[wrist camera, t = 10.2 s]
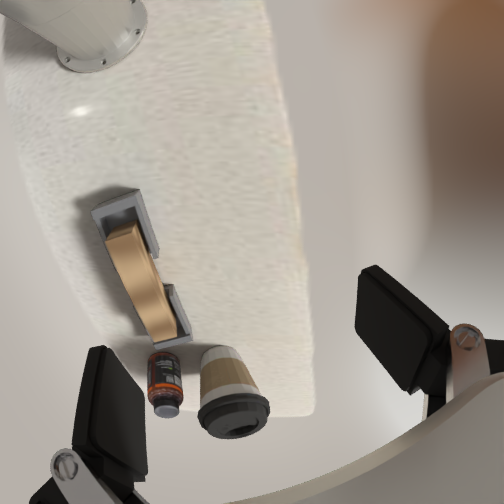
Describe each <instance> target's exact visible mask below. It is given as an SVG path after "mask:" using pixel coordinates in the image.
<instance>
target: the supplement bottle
mask: <svg viewBox="0 0 504 504" xmlns="http://www.w3.org/2000/svg"><path fill="white" fill-rule="evenodd" d="M147 371H148V373H147V388H148V389H147V391H148V400H149V402H150V403H151V404H152V405H153V406H154V413H155V414H156V415H157V416H159V417H162V418H173V417H175V416H177V415H178V414H179V406H180V405H181V404H182V402H183V389H182V381H181V371H180V363H179V360H178V359H177V357H175V356H174V355H172V354H170V353H164V352H161V353H156V354H154V355H152V356H151V357H150V358H149V360H148V370H147Z"/></svg>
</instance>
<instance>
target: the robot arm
mask: <svg viewBox="0 0 504 504" xmlns="http://www.w3.org/2000/svg"><path fill="white" fill-rule="evenodd" d="M132 3H133V4H132ZM0 13H1V14H3V15H5V16H7V17H9V18H11V19H13V20H15V21H16V22H18V23H20V24H21V25H23V26H25V27H26V28H28V29H30V30H32V31H33V32H35V33H37V34H38V35H40V36H42V37H43V38H45V39H46V40H48V41H50V42H51V43H53V44H54V45H56V50H57V55H58V57H59V59H60V61H61V62H62V63H63V64H64V66H66V67H68V68H69V69H71V70H74V71H76V72H82V73H91V72H96V71H100V70H103V69H106V68H109V67H111V66H113V65H114V64H116V63H118V62H119V61H121V60H122V59H124V58H125V57H126V56H127V55H128V54H130V53H131V52H132V51H133V49H134V48H135V47H136V46H137V45H138V43H139V42H140V40H141V39H142V37H143V35H144V33H145V30H146V26H147V12H146V9H145V6H144V4H143V3H142V2H141V1H140V0H0ZM137 33H139V34H138V35H136V34H137ZM69 60H70V61H69ZM68 61H69V62H68ZM104 62H106V64H104V65H103V63H104ZM448 328H449V325H447V324H446V323H445V322H444V321H443V320H442V319H441V318H440V317H439V316H438V315H436V314H435V313H434V312H433V311H432V310H431V309H429V307H427V306H426V305H425V304H424V303H423V302H422V301H420V300H419V299H418V298H417V297H416V296H415V295H413V294H412V293H411V292H410V291H409V290H407V289H406V288H405V287H404V286H403V285H401V284H400V283H399V282H398V281H396V280H395V279H394V278H393V277H392V276H390V275H389V274H388V273H386V272H385V271H384V270H383V269H382V268H380V267H379V266H377V265H373V266H370V267H367V268H365V269H363V270H362V271H361V274H360V275H359V276H358V290H357V304H356V316H355V330H356V333H357V334H358V336H360V338H361V339H362V340H363V342H364V343H365V344H366V345H367V347H368V348H369V349H370V350H371V352H372V353H373V354H374V355H375V357H376V358H377V359H378V360H379V362H380V363H381V364H382V365H383V367H384V368H385V369H386V370H387V371H388V373H389V374H390V376H391V377H392V378H393V379H394V381H395V382H396V383H397V384H398V386H399V387H400V388H401V389H402V390H403V391H407V392H408V393H409V395H411V394H413V393H415V392H416V391H418V390H419V389H422V391H423V392H424V405H423V416H422V422H421V423H420V424H418V425H416V426H415V427H413V428H412V429H410V430H409V431H407V432H406V433H404V434H403V435H401V436H399V437H398V438H396V439H394V440H393V441H391V442H389V443H388V444H386V445H384V446H383V447H381V448H379V449H377V450H375V451H374V452H372V453H370V454H368V455H366V456H364V457H362V458H360V459H358V460H356V461H354V462H352V463H350V464H348V465H346V466H344V467H341V468H339V469H337V470H334V471H332V472H330V473H327V474H325V475H323V476H320V477H318V478H315V479H312V480H310V481H307V482H304V483H301V484H298V485H295V486H292V487H290V488H286V489H283V490H280V491H276V492H273V493H270V494H266V495H262V496H258V497H254V498H250V499H245V500H240V501H235V502H230V503H225V504H504V340H492V339H484V337H483V334H482V333H481V332H480V330H479V329H478V328H476V327H475V326H473V325H470V324H459V325H457V326H455V327H454V328H453V329H452V331H450V330H449V329H448ZM50 469H51V474H52V477H51V478H50V479H49V480H48V481H47V482H46V483H45V484H44V485H43V486H42V487H41V488H40V489H39V490H38V491H37V492H36V493H35V494H34V495H33V496H32V497H31V499H30V501H29V504H149V503H148V502H147V501H146V500H145V499H144V498H143V497H142V496H141V495H140V494H139V493H138V492H137V491H136V490H135V489H134V482H145V475H147V474H148V465H147V452H146V433H145V397H144V393H143V391H142V390H141V388H140V387H139V386H138V385H137V383H136V382H135V381H134V380H133V378H132V377H131V376H130V374H129V373H128V372H127V370H126V369H125V368H124V366H123V365H122V363H121V362H120V361H119V359H118V358H117V356H116V355H115V354H114V352H113V351H112V349H110V348H107V347H106V346H105V345H101V346H97V347H92V348H90V349H89V352H88V356H87V360H86V364H85V368H84V373H83V377H82V382H81V387H80V392H79V397H78V403H77V409H76V415H75V421H74V429H73V437H72V450H71V449H67V448H65V449H61V450H59V451H57V452H56V453H55V454H54V456H53V458H52V460H51V464H50Z"/></svg>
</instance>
